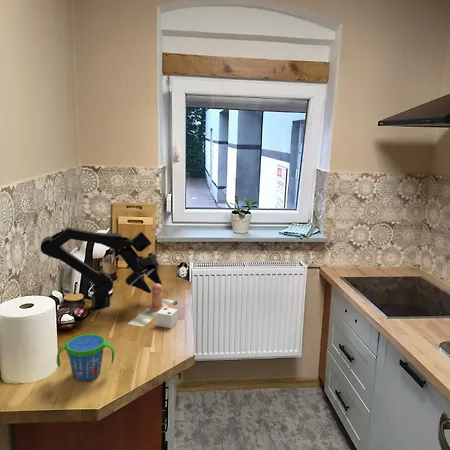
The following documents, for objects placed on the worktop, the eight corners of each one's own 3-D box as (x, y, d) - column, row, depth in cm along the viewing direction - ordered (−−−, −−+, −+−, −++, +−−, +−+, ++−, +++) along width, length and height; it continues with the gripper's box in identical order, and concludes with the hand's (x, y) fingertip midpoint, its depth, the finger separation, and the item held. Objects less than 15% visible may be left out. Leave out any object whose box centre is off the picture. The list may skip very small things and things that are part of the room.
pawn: (155, 312, 155) (156, 287, 153) (146, 308, 159) (146, 283, 157) (167, 308, 160) (167, 284, 158) (158, 304, 164) (158, 280, 162)
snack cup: (52, 385, 107) (51, 351, 105) (64, 365, 117) (63, 333, 115) (110, 385, 108) (110, 351, 106) (117, 364, 118) (117, 333, 117)
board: (146, 330, 142) (146, 327, 142) (124, 326, 144) (124, 323, 144) (177, 303, 168) (177, 301, 168) (158, 300, 171) (158, 297, 171)
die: (170, 330, 142) (171, 315, 141) (156, 328, 144) (156, 312, 143) (177, 324, 148) (177, 309, 147) (163, 321, 150) (163, 306, 149)
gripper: (132, 252, 148) (158, 284, 147) (155, 242, 165) (178, 271, 164) (114, 269, 151) (139, 301, 150) (139, 258, 169) (161, 286, 168)
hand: (155, 289), depth 158 cm, fingers open, 9 cm apart
